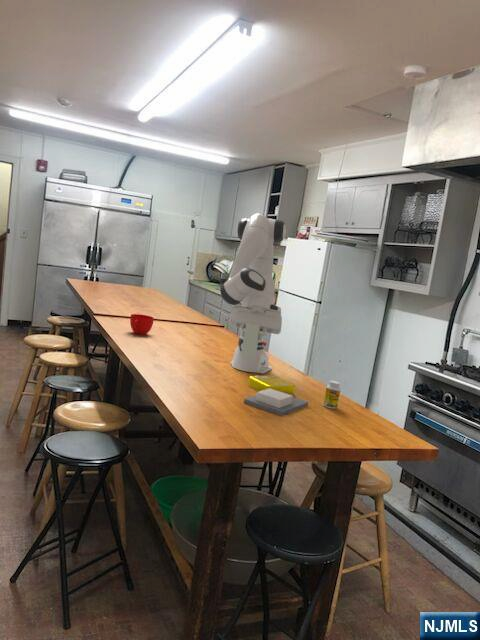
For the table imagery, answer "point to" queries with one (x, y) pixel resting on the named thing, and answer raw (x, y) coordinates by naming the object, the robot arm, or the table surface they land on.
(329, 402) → the supplement bottle
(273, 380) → the element tile
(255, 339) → the sage block
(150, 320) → the ceramic cup
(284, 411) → the slate board
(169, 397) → the table surface
